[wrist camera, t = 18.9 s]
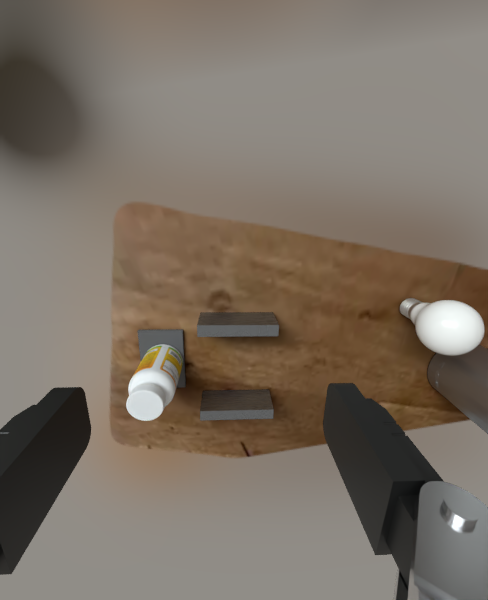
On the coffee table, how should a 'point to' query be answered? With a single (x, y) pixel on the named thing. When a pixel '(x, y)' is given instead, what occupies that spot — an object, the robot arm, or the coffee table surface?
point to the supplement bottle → (154, 382)
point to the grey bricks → (236, 401)
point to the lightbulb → (445, 325)
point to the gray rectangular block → (163, 337)
